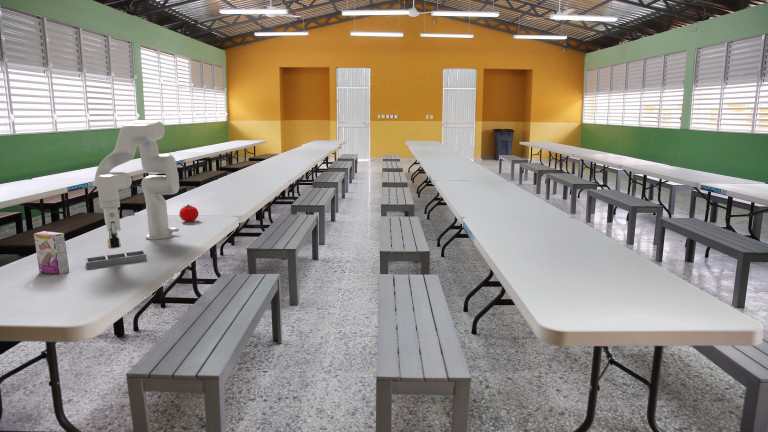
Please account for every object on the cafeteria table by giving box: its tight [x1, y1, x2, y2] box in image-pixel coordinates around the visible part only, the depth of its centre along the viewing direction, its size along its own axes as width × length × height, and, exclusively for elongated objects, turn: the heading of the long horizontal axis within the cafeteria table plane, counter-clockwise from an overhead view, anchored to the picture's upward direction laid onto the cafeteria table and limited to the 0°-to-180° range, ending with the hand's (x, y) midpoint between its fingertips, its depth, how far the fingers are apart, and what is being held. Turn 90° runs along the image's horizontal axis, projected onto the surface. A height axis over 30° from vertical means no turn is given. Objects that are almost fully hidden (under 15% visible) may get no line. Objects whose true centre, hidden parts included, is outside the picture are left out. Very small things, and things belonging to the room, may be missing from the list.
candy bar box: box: [33, 230, 70, 276], centre depth 212 cm, size 11×5×16 cm, turn 71°
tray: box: [85, 249, 148, 270], centre depth 227 cm, size 23×8×3 cm, turn 121°
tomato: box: [178, 204, 199, 223], centre depth 305 cm, size 10×10×10 cm
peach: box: [107, 236, 122, 250], centre depth 225 cm, size 5×5×5 cm
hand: (114, 245), depth 225 cm, fingers closed on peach, 4 cm apart
